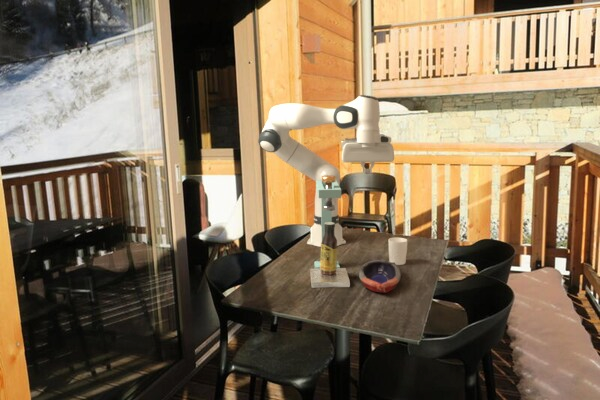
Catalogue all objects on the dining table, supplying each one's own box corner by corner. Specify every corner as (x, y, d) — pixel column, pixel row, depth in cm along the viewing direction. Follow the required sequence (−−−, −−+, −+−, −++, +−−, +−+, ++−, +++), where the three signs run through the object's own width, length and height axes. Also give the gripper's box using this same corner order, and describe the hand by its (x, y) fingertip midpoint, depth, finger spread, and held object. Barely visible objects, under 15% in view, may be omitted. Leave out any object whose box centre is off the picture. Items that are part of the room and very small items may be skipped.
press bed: (310, 273, 199) (310, 268, 198) (345, 272, 199) (345, 268, 198) (311, 287, 183) (311, 282, 183) (349, 287, 183) (349, 281, 183)
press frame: (314, 264, 210) (313, 179, 204) (338, 263, 210) (337, 179, 204) (316, 286, 184) (315, 190, 177) (344, 286, 184) (344, 189, 177)
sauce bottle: (317, 272, 193) (316, 222, 190) (329, 269, 197) (329, 220, 193) (327, 276, 188) (327, 225, 185) (340, 273, 192) (340, 223, 188)
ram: (321, 208, 188) (321, 175, 186) (335, 208, 188) (335, 175, 186) (322, 211, 183) (322, 177, 181) (336, 210, 183) (336, 177, 181)
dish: (400, 270, 201) (400, 258, 200) (400, 298, 172) (400, 285, 171) (361, 268, 204) (361, 257, 203) (355, 296, 175) (355, 282, 174)
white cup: (386, 264, 208) (387, 241, 206) (389, 259, 215) (389, 236, 214) (406, 266, 206) (406, 242, 204) (407, 260, 213) (408, 238, 211)
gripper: (341, 138, 190) (341, 175, 192) (395, 138, 190) (394, 174, 193) (340, 137, 196) (340, 172, 199) (392, 137, 196) (391, 172, 199)
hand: (367, 173), depth 196 cm, fingers closed
